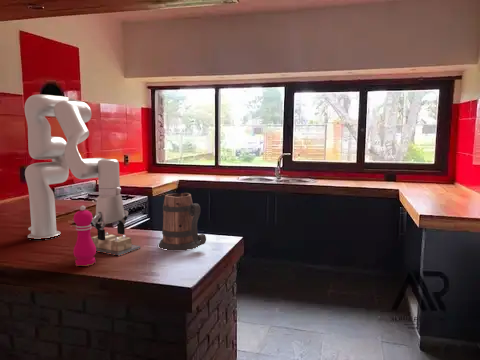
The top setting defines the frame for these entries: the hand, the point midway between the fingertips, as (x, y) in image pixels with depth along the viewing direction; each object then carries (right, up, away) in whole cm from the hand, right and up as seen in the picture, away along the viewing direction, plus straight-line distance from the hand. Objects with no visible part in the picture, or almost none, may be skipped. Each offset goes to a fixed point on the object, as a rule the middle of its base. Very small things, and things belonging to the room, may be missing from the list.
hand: (111, 236), depth 151 cm
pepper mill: (-3, -7, -17) cm, 18 cm away
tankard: (+27, -5, +4) cm, 28 cm away
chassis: (0, -5, +1) cm, 5 cm away
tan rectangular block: (0, -4, 0) cm, 4 cm away
